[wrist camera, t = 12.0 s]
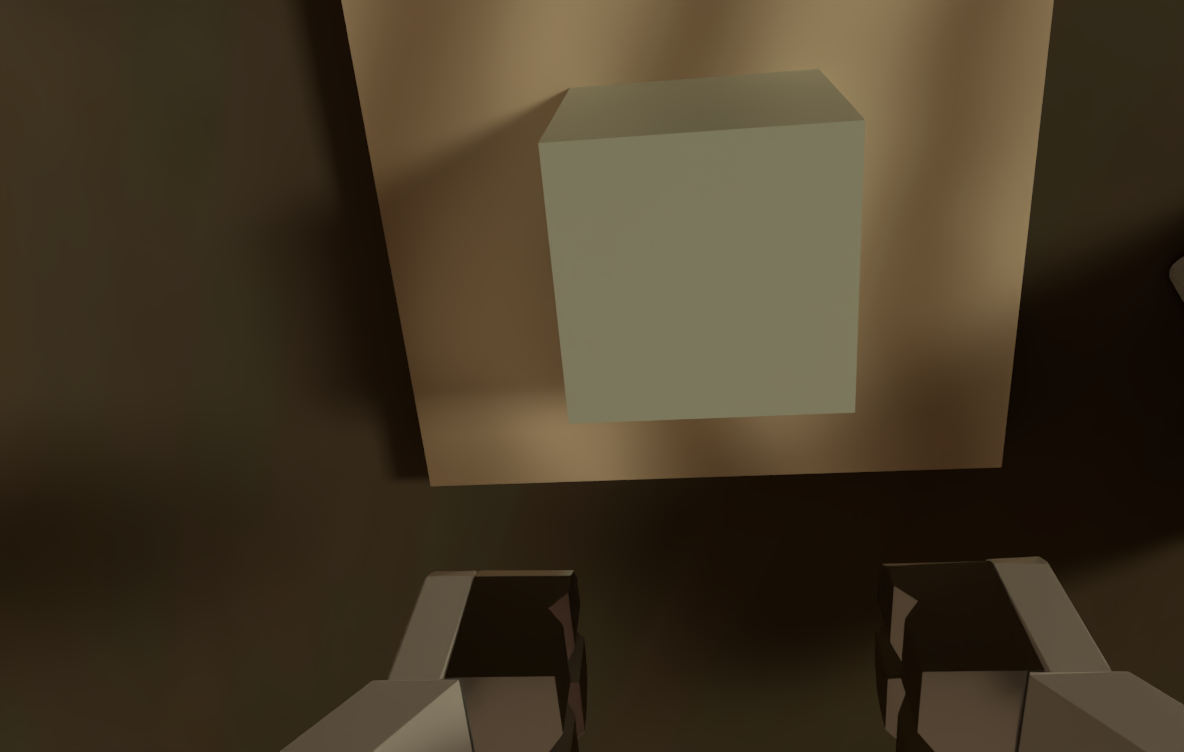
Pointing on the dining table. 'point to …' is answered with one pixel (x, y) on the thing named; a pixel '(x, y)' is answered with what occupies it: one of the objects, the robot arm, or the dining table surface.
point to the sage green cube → (706, 246)
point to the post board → (684, 51)
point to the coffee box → (1178, 276)
